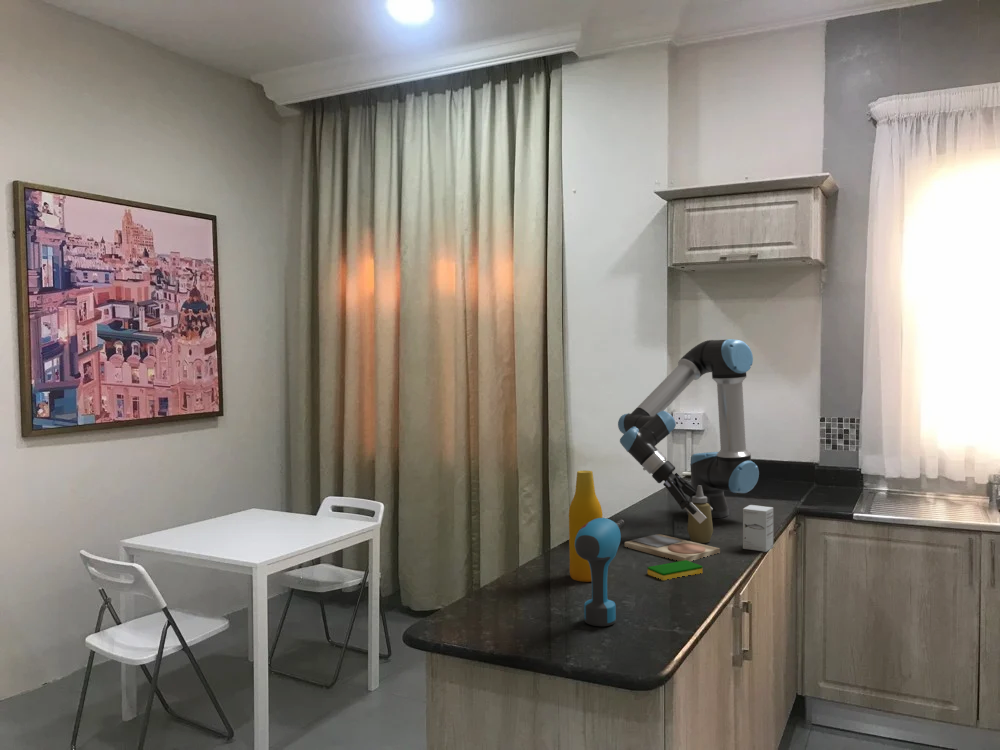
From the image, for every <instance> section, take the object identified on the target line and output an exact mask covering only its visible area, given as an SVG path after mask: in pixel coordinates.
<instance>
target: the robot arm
mask: <svg viewBox="0 0 1000 750" xmlns="http://www.w3.org/2000/svg"><path fill="white" fill-rule="evenodd" d="M677 362H678V363H677V366H676V367H675V368H674V369H673V370H672V371H671V372H670V373H669V374H668V375H667V376H666V377H665V379H663V380H662V382H661V383H660V384H659V385H657V386H656V388H654V390H652V392H651V393H650V394H649V395H648V396H647V397H645V398H644V400H643V401H642V402H641V403H640V404H639V405H637V407H636V408H635V409H634V410H633V411H632V412H631V413H630V412H628V413H624V414H621V416H620V417H619V419H618V421H617V427H618V430H619V432H620V433H621V434H622V436H621V437H620V438H619V443H620V444H621V446H622V447H623V448H624V450H626V452H627V453H629V454H630V455H631V457H632V458H634V459H635V460H636V462H638V464H639V465H641V467H643V468H642V470H643V471H646V472H647V473H648V474H649V475H651V478H653V479H654V480H655V481H656V483H658V484H662V482H663V486H664V487H665V488H666V489H667V491H668V492H669V493H670V495H671V496H672V497H673V499H674V500H675V501H676V502H677V504H678V505H679V507H680V509H681V510H684V509H685V510H686V514H687V515H689V513H690V514H691V515H692V516H693V517H694V518H695V519H696V520H697V521H698V522H699V523H702V522H703V521H704V520H705V519H706V516H705V515H704V514H703V513H702V512H701V511H700V510H699V509H698V508H697V507H696V506H695V505H694V504H693V502H692V497H693V496H696V491H697V487H698V485H701V486H702V490H703V494H704V496H706V497H707V503H708V504H709V505H710V507H711V516H712V519H719V518H721V519H722V518H726V517H729V515H730V514H729V513H730V508H729V507H728V503H727V499H726V497H725V493H724V492H725V491H726V492H731V493H734V494H737V493H738V494H747V493H748V492H750V491H752V490H753V489H754V488H755V486H756V485H757V483H758V481H759V477H760V476H759V475H760V471H759V467H758V465H757V464H756V463H755V461H754V462H753V461H752V457H751V452H749V451H748V449H746V448H747V446H746V445H747V444H746V430H745V429H746V425H745V408H744V407H745V406H744V392H743V390H744V389H743V383H744V381H745V379H746V378H747V372H748V371H749V370H750V369H751V368H752V367H751V366H752V365H753V362H754V357H753V352H752V350H751V348H750V346H749V345H748V344H747V343H746V342H745V341H743V340H740V339H733V338H729V339H709V340H704V341H701V342H699V343H698V344H697V345H695V346H693V347H692V348H691V349H690V350H689V351H687V352H686V353H685V354H684V355H683V356H682V357H681V358H680V359H679V360H678V361H677ZM708 373H711V378H712V380H713V382H714V381H715V383H716V392H717V408H718V425H719V427H718V428H719V443H720V444H719V445H720V450H719V451H711V452H697V453H694V454H692V455H691V459H690V464H689V465H690V483H689V482H687V481H686V480H685V479H684V478H683V477H681V475H679V473H677V472H675V473H674V471H675V470H676V466H675V465H673V464H672V463H671V461H670V460H667V458H666V456H665V455H664V454H663V453H662V452H661V451H660V450H659V449H658V448H657V447H656V446H657V445H658V444H659V443H660V442H661V441H662V440H664V439H665V438H666V437H668V436H669V435H670V434H671V433H672V431H674V429H675V428H676V425H677V424H676V421H675V418H674V417H673V415H672V414H671V413H669V412H667V411H665V410H666V409H667V408H668V407H669V406H670V405H671V404H672V403H673V402H674V401H675V400H676V399H677V397H678V396H679V395H681V393H683V392H684V391H685V389H686V388H688V386H689V385H690V384H691V383H692V382H693V381H697V380H699V379H700V378H701V377H702V376H703V375H705V374H708ZM687 496H688V497H689V499H688V497H687Z"/></svg>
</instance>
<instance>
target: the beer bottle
mask: <svg viewBox="0 0 1000 750" xmlns="http://www.w3.org/2000/svg"><path fill="white" fill-rule="evenodd" d="M575 481H576V482H575V490H574V495H573V498H572V501H571V502H570V505H569V509H568V532H569V533H568V537H569V538H568V539H569V543H568V544H569V547H568V549H569V576H570V578H571V579H572V580H574V581H577V582H581V583H582V582H583V583H589V582H591V583H592V578H591V569H590V565H589V562H588V560H585V559H583V558H581V557H580V556H579V555H578V554H577V552H576V549H575V539H576V535H577V533H578V531H579V530H580V529H581V527H583V526H584V525H585V524H587V523H588V522H590V521H592V520H594V519H597V518H603V510H602V505H601V503H600V501H599V499H598V497H597V494H596V489H595V482H594V474H593V471H592V470H578V471H576V480H575Z"/></svg>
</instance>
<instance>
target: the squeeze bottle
mask: <svg viewBox="0 0 1000 750" xmlns="http://www.w3.org/2000/svg"><path fill="white" fill-rule="evenodd" d="M692 502H693V504H694V505H695V506H696V507H697V508H698V509H699V510H700V511H701V512H702V513H703V514H704V515H705V516H706V519H705V520H704V521H703V522H702V523H699V522H698V521H697V520H696V519H695V518H694V517H693V516H692V515H691V514H690V513H689V515H688V514H687V515H688V517H687V525H686V526H687V529H686V530H687V533H688V536H689V539H690V541H691V542H695V543H699V544H707V543H710V541H711V538H712V535H713V533H714V527H713V518H712V516H711V507H710V505H709V504H708V503H707V497H706V496H704V494H703V490H702V486H701V485H698V487H697V491H696V496H693V497H692Z"/></svg>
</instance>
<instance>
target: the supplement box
mask: <svg viewBox="0 0 1000 750" xmlns="http://www.w3.org/2000/svg"><path fill="white" fill-rule="evenodd" d="M774 509H775V508H774V507H772V506H763V505H757V504H756V505H755V504H749V505H747V506H745V507H744V508H742V549H744V550H751V551H757V552H763V553H767V552H768V551H770V550H771V549H772V548H774Z"/></svg>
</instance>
